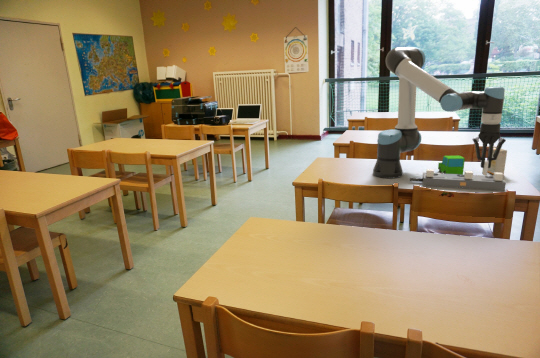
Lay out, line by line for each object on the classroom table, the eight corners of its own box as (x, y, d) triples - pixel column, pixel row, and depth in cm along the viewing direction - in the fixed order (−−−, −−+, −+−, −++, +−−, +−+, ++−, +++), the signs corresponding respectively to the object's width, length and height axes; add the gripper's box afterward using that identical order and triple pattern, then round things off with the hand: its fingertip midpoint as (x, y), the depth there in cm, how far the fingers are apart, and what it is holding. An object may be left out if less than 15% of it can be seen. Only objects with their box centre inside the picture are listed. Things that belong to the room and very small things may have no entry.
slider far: (494, 180, 165) (495, 174, 164) (493, 178, 168) (494, 172, 167) (502, 180, 164) (503, 174, 163) (500, 178, 167) (501, 172, 166)
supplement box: (504, 175, 186) (508, 150, 183) (494, 175, 187) (498, 150, 183) (495, 171, 194) (498, 147, 191) (485, 171, 194) (489, 147, 191)
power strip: (409, 185, 177) (410, 177, 176) (409, 179, 186) (410, 171, 185) (505, 191, 164) (507, 182, 163) (500, 184, 173) (501, 176, 172)
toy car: (454, 170, 199) (456, 152, 196) (464, 177, 186) (467, 158, 183) (435, 170, 200) (436, 152, 197) (443, 177, 187) (445, 158, 185)
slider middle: (465, 178, 169) (465, 172, 168) (464, 177, 172) (464, 170, 171) (472, 179, 168) (473, 172, 167) (471, 177, 171) (472, 171, 170)
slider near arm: (426, 176, 175) (427, 170, 174) (426, 175, 177) (426, 169, 176) (433, 177, 174) (433, 171, 173) (432, 175, 176) (433, 169, 175)
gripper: (475, 124, 159) (469, 176, 166) (510, 124, 155) (502, 177, 161) (472, 121, 166) (467, 171, 173) (505, 121, 162) (498, 173, 168)
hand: (484, 174), depth 167 cm, fingers closed
